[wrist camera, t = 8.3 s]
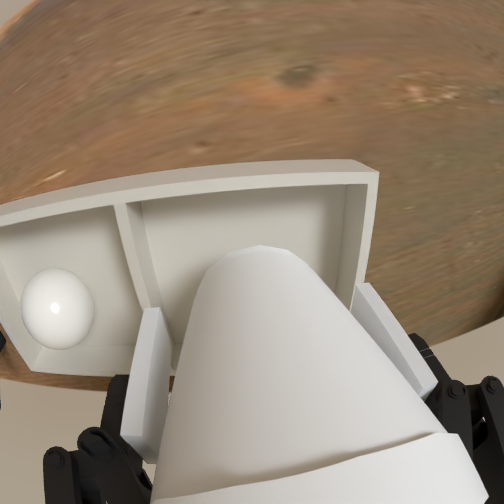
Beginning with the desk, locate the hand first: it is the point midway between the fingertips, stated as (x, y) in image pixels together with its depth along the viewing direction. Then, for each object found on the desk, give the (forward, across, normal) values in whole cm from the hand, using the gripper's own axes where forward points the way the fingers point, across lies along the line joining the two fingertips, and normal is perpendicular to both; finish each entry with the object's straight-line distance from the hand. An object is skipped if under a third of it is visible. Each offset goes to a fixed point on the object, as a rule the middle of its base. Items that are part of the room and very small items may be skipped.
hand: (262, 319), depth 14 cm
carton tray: (+5, +6, 0) cm, 8 cm away
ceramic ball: (+5, +12, 0) cm, 13 cm away
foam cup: (+2, 0, 0) cm, 2 cm away
